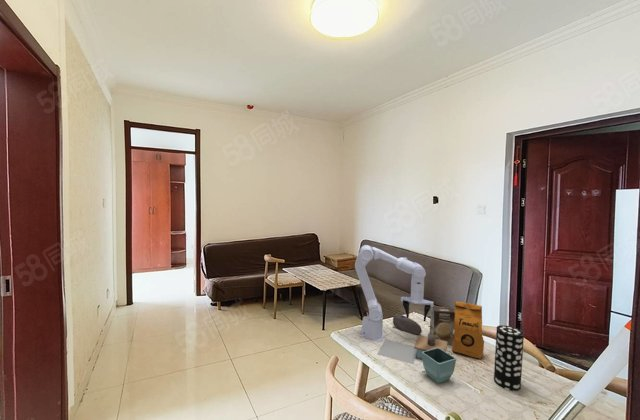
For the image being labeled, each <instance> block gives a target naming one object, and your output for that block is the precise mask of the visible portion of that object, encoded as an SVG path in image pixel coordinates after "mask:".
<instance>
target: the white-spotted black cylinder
mask: <svg viewBox="0 0 640 420" xmlns="http://www.w3.org/2000/svg"><path fill="white" fill-rule="evenodd" d="M495 332H496V335H495V351H494V353H495V354H494V368H493V370H494V371H493V382H494V383H495V384H496V385H497V386H499V387H500V388H502V389H504V390H506V391H511V392H518V391H520V390H521V389H522V388H521V387H522V372H523V356H524V336H525V332H523V330H521V329H519V328H517V327H514V326H510V325H506V324H505V325H501V324H500V325H497V326H496V331H495Z"/></svg>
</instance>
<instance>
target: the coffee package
mask: <svg viewBox="0 0 640 420" xmlns="http://www.w3.org/2000/svg"><path fill="white" fill-rule="evenodd" d="M454 312H455V319H454V335H453V341H452V346H451V348H452V351H453V352H455V353H459V354H463V355H466V356H468V357H472V358H477V359H479V360H481V358H482V357H483V354H484V348H485V340H484V337H483V328H482V327H483V315H482V314H483V306H482V305H479V304H472V303H469V302H462V301H454Z"/></svg>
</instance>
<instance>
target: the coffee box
mask: <svg viewBox="0 0 640 420" xmlns="http://www.w3.org/2000/svg"><path fill="white" fill-rule="evenodd" d="M454 321H455V310H454V309H452V308H451V307H448V306H438V305H436V306H435V305H433V307H431V308H430V320H429V333H432V334H435V339H439V340H443V341H447V342H448V343H447V346H451V347H452V341H453V335H454Z"/></svg>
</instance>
